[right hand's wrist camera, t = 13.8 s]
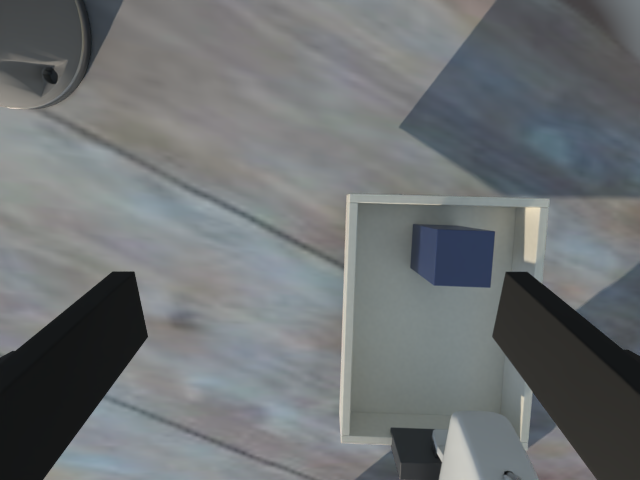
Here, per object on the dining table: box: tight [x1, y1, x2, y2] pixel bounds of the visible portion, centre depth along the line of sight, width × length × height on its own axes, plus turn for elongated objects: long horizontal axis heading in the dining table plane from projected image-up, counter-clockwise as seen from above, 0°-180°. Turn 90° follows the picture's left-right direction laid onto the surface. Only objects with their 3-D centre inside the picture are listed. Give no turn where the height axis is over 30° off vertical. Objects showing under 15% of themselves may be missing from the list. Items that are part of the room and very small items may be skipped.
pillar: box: [410, 224, 495, 288], centre depth 32 cm, size 4×4×8 cm
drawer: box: [339, 193, 550, 480], centre depth 33 cm, size 24×18×8 cm
